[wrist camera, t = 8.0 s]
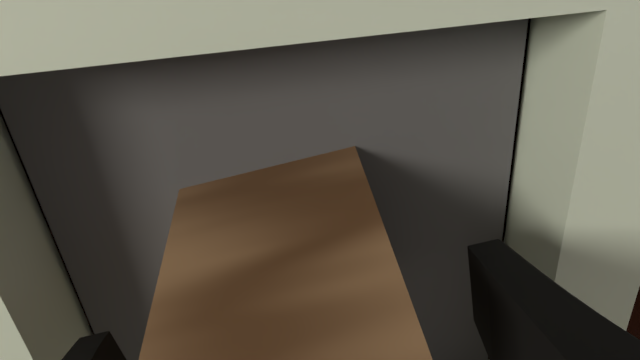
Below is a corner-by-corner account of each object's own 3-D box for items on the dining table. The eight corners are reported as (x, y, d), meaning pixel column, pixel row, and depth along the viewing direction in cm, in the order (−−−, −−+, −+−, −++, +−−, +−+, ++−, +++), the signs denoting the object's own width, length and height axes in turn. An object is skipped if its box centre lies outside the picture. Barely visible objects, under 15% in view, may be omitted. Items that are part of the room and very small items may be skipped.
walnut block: (354, 145, 12) (434, 363, 6) (383, 279, 14) (459, 526, 9) (179, 189, 12) (119, 438, 7) (233, 315, 14) (219, 581, 9)
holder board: (655, -145, 10) (770, -150, 8) (544, 392, 17) (585, 466, 15) (-201, -64, 9) (-347, -43, 7) (77, 461, 17) (51, 549, 14)
